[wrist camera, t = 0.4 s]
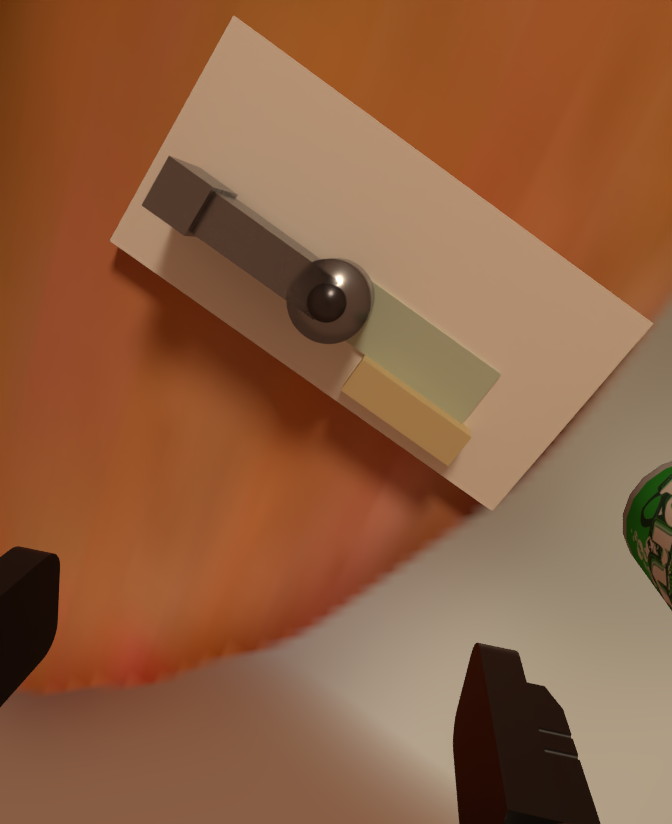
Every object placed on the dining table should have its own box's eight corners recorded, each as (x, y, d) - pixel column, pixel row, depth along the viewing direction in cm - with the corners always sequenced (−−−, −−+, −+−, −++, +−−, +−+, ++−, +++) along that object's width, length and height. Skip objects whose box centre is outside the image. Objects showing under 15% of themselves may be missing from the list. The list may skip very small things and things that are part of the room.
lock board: (119, 241, 36) (93, 240, 33) (240, 23, 32) (222, 1, 29) (489, 503, 37) (496, 524, 34) (644, 321, 33) (667, 327, 30)
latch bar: (389, 287, 33) (386, 292, 29) (346, 349, 34) (336, 362, 30) (206, 155, 32) (175, 141, 28) (168, 222, 33) (133, 218, 29)
